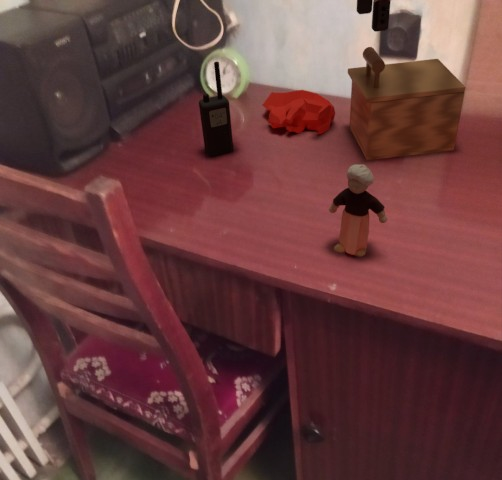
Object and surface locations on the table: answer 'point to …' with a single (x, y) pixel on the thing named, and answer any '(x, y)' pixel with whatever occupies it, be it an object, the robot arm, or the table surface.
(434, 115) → the chest
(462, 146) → the table surface
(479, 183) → the table surface
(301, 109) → the crumpled red cloth
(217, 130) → the walkie-talkie
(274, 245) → the table surface
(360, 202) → the grandmother figurine
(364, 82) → the lid
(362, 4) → the robot arm
